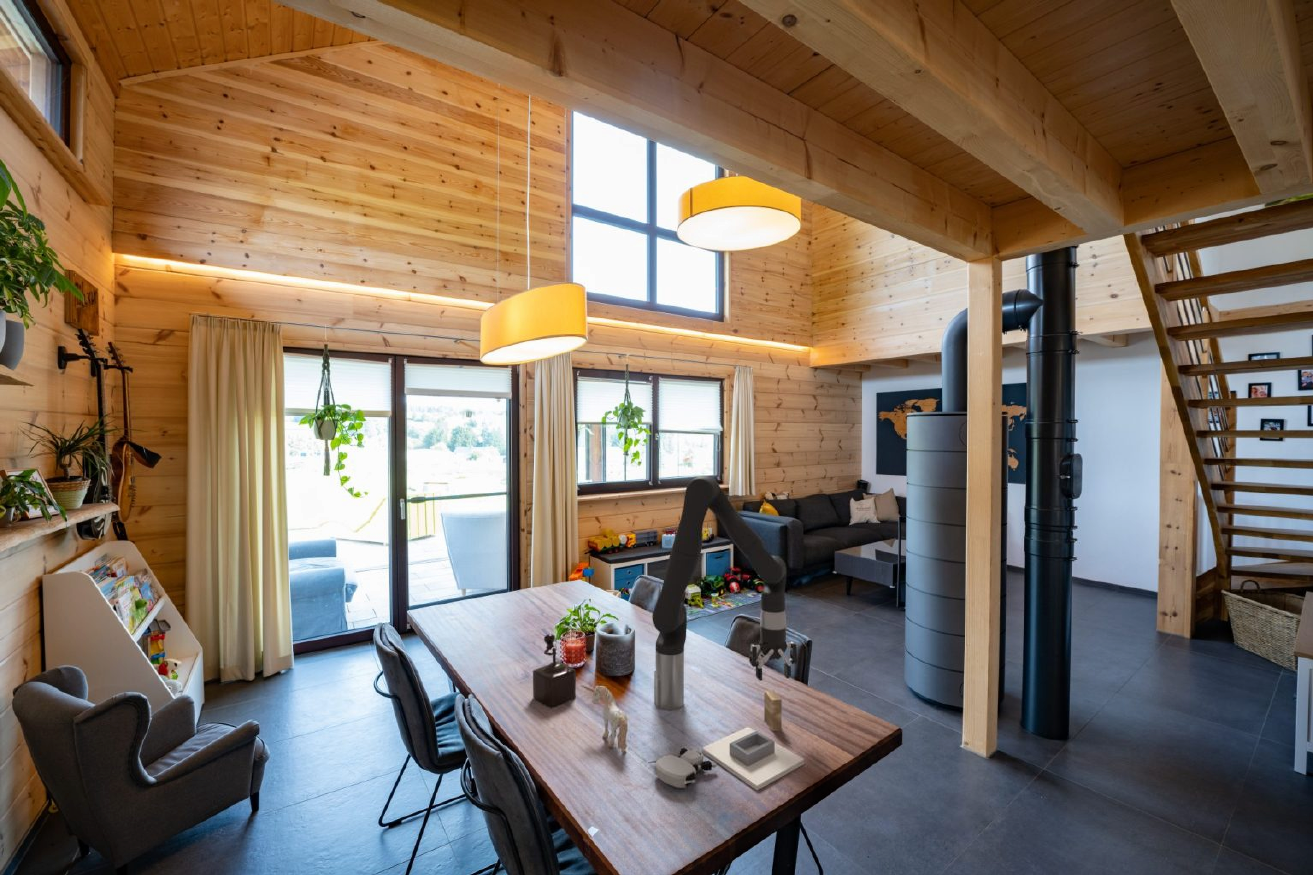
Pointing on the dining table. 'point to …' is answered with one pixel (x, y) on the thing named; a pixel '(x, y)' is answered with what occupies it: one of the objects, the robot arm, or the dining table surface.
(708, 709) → the dining table surface
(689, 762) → the robot toy
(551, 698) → the dark block with post
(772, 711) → the tall wooden peg block
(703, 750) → the socket base
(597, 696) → the unicorn figurine
